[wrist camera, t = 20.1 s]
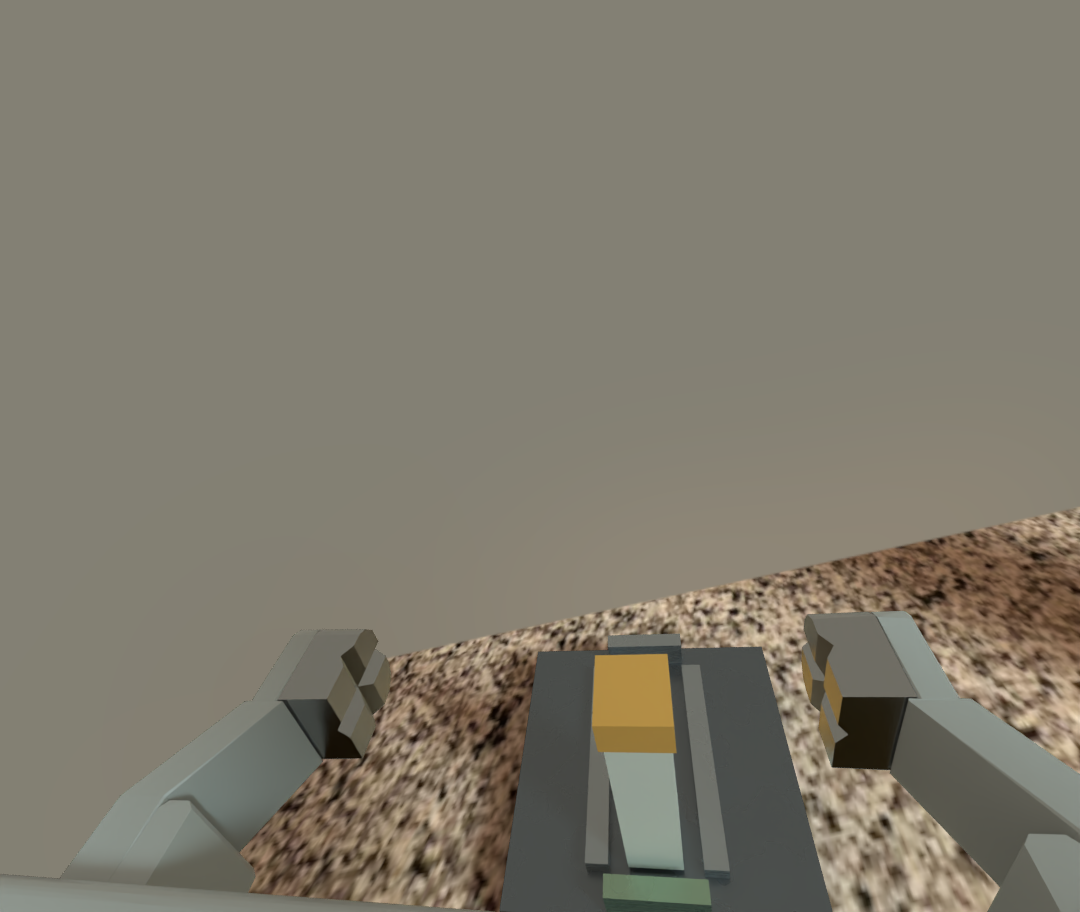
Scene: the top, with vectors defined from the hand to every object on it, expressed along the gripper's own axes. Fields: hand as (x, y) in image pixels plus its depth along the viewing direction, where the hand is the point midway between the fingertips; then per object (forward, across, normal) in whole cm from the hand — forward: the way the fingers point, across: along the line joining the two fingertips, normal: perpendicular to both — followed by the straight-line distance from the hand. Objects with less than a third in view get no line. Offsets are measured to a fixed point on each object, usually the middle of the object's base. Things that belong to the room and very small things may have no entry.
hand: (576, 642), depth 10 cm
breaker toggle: (+8, 0, +25) cm, 26 cm away
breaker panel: (+12, 0, +28) cm, 31 cm away
